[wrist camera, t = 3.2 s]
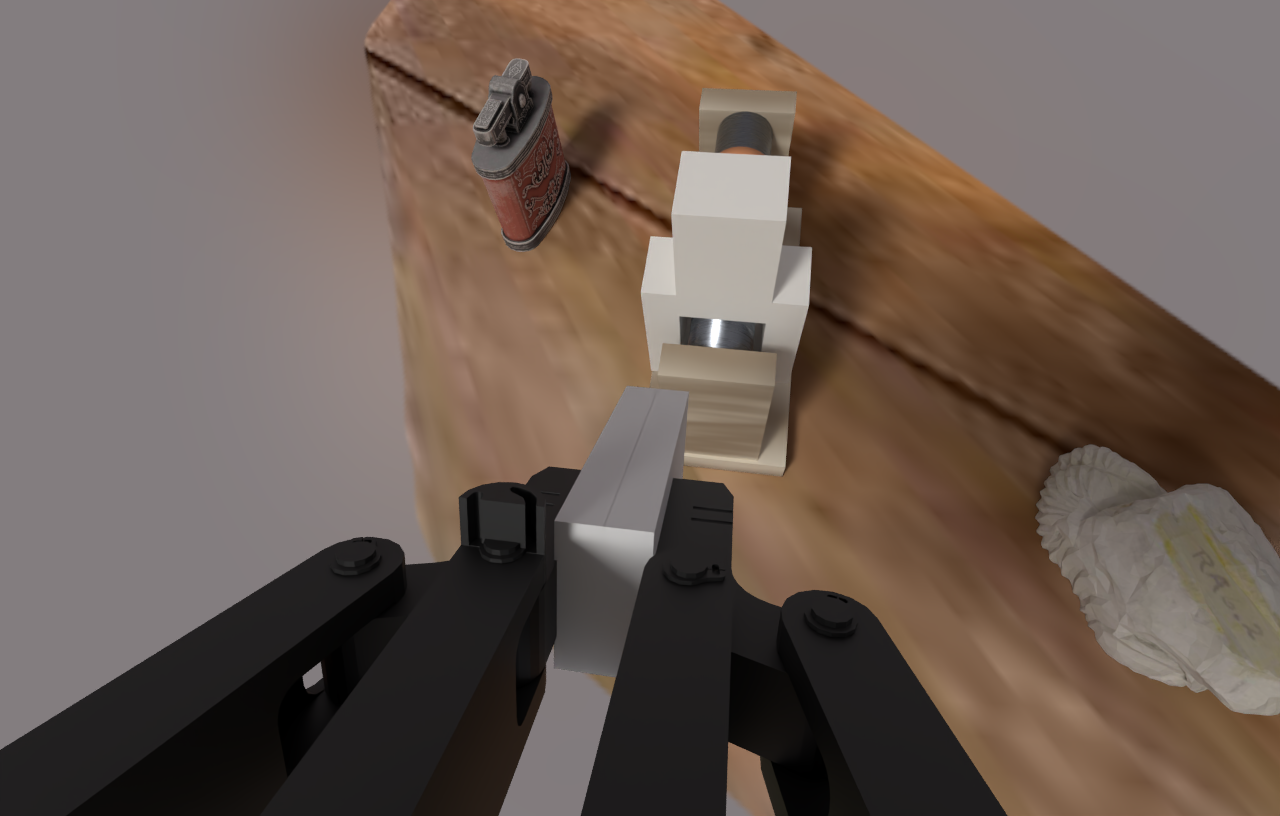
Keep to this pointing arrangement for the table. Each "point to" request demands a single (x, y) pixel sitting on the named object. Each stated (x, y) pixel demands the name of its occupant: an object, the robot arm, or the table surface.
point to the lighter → (521, 156)
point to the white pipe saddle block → (728, 257)
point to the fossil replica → (1168, 577)
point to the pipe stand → (721, 349)
